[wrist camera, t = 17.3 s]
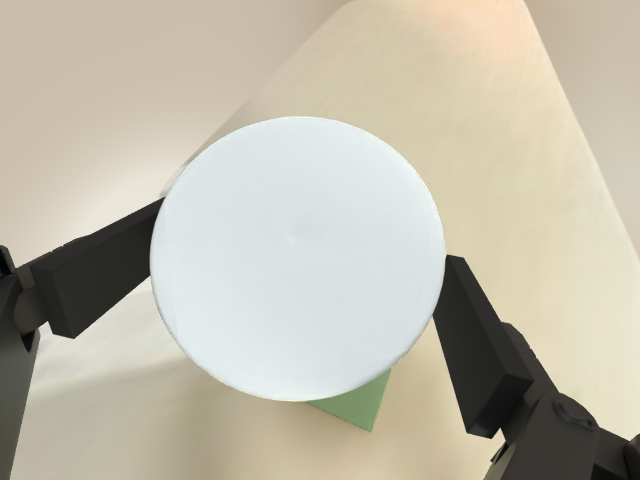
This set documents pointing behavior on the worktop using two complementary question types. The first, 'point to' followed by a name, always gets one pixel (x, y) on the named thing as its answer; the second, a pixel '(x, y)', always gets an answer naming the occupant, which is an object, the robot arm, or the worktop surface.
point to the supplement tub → (297, 258)
